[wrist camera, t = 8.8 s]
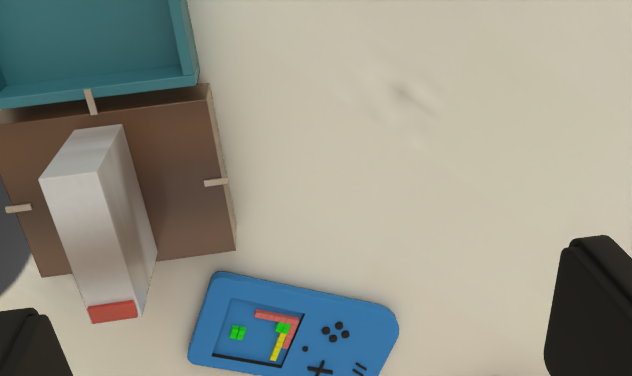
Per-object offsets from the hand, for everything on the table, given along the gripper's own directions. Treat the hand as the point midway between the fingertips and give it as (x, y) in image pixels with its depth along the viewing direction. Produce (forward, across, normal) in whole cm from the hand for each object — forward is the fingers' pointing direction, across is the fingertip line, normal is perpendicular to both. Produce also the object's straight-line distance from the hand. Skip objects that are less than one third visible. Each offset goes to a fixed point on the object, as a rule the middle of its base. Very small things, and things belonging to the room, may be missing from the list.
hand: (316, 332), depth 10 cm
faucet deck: (+24, +10, +8) cm, 27 cm away
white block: (+21, +10, +8) cm, 25 cm away
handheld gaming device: (+24, +1, +23) cm, 33 cm away
